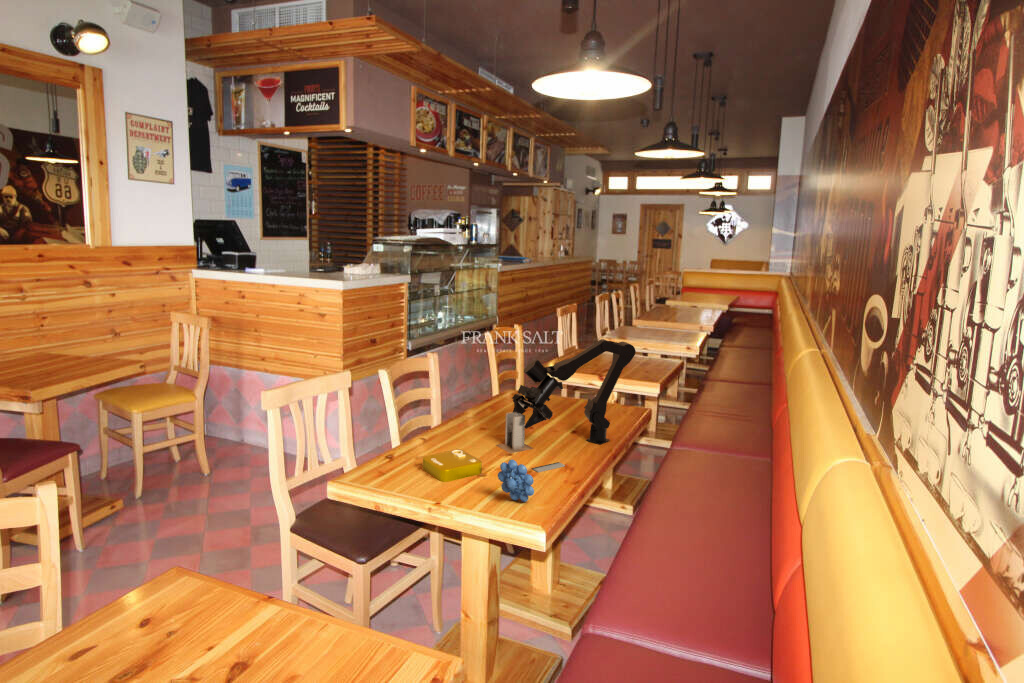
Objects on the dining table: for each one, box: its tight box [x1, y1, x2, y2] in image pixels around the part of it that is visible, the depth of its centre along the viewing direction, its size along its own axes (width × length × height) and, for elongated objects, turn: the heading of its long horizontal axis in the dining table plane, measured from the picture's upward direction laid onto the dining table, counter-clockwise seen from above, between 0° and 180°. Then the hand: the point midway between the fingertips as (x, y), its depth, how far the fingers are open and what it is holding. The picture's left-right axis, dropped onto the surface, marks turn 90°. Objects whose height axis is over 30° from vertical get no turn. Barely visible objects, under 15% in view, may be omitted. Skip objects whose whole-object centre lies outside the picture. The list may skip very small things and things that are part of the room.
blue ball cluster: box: [497, 459, 535, 503], centre depth 173 cm, size 12×7×12 cm, turn 62°
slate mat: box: [530, 461, 565, 473], centre depth 204 cm, size 11×11×1 cm
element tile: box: [422, 448, 483, 483], centre depth 197 cm, size 15×15×5 cm
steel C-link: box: [504, 411, 526, 450], centre depth 217 cm, size 4×6×12 cm
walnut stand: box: [495, 435, 535, 454], centre depth 218 cm, size 10×10×5 cm
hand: (517, 424), depth 217 cm, fingers open, 9 cm apart
